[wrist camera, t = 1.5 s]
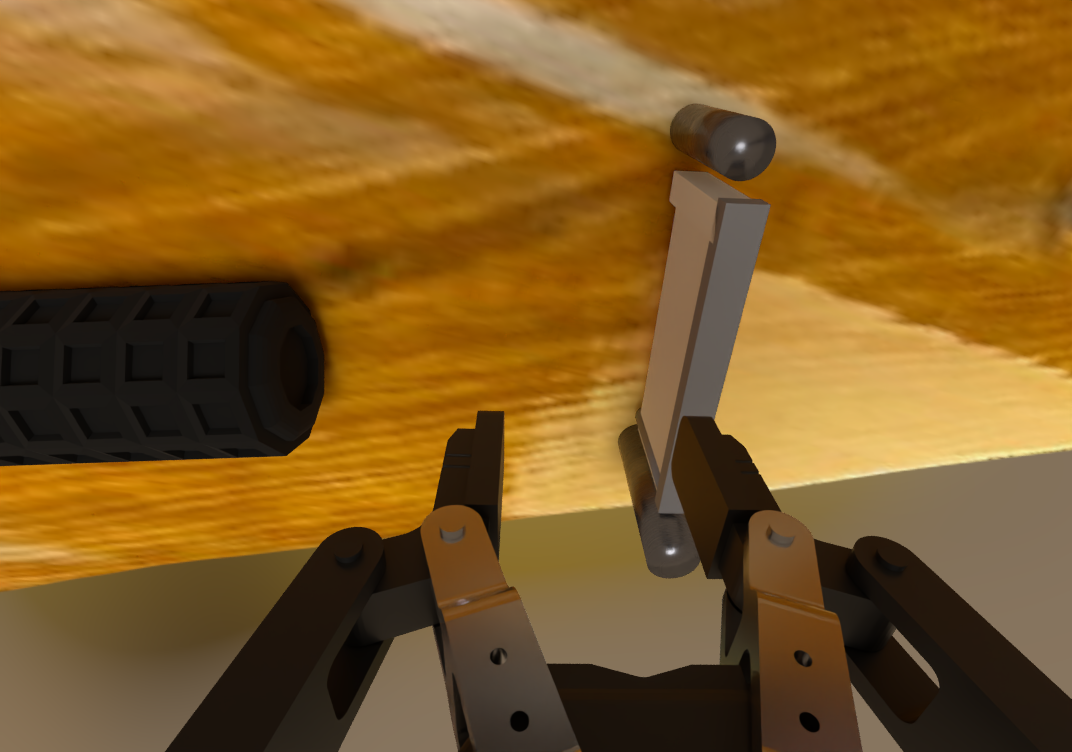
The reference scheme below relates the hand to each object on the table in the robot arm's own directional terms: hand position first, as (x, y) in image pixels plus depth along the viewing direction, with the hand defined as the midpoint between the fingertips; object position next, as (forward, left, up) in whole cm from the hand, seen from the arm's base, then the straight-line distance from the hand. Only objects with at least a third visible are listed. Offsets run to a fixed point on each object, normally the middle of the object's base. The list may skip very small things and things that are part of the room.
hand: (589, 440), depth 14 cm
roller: (+33, +8, -20) cm, 40 cm away
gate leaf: (-7, +4, -18) cm, 20 cm away
